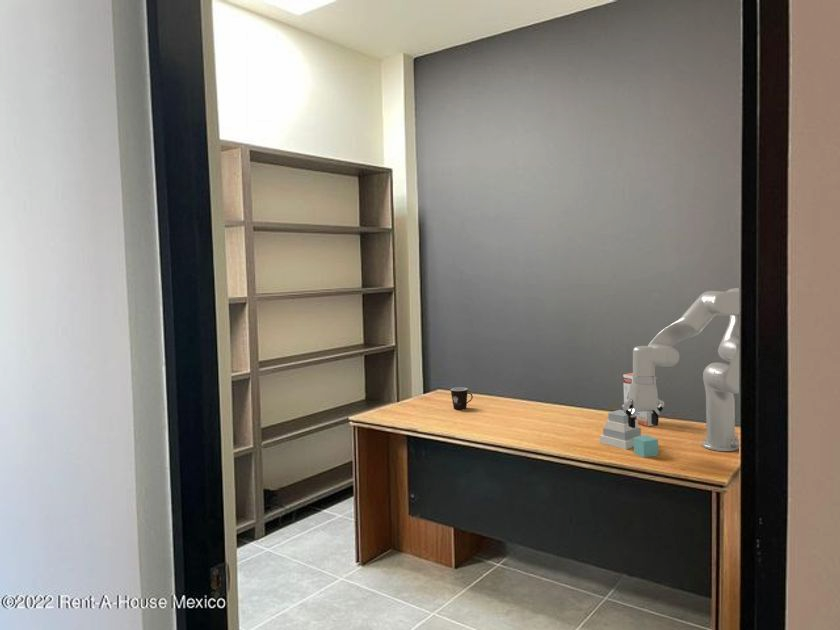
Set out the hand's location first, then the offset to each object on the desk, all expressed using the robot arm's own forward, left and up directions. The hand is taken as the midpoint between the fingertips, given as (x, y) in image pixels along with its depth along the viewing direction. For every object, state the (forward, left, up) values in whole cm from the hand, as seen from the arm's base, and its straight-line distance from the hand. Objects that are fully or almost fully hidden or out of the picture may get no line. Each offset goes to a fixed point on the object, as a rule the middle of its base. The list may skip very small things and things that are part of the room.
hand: (643, 426), depth 221 cm
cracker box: (+26, -35, -11) cm, 44 cm away
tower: (+14, -6, -11) cm, 18 cm away
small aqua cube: (0, -1, -11) cm, 11 cm away
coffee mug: (+103, +3, -11) cm, 103 cm away
